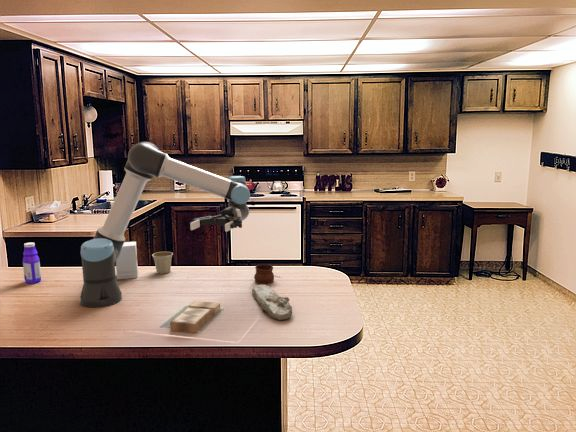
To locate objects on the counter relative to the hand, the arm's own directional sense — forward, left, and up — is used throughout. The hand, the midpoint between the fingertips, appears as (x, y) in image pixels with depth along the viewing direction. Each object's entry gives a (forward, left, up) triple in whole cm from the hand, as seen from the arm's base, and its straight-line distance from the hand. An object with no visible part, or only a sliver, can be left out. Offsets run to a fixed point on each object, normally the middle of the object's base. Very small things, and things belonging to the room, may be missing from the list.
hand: (208, 227), depth 176 cm
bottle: (-88, +9, -30) cm, 94 cm away
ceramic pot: (+11, +33, -31) cm, 46 cm away
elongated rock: (+21, +6, -31) cm, 38 cm away
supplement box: (-52, +26, -30) cm, 66 cm away
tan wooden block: (+1, -8, -29) cm, 31 cm away
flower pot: (-39, +35, -30) cm, 61 cm away
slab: (+1, -12, -28) cm, 31 cm away
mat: (-1, -14, -30) cm, 33 cm away
